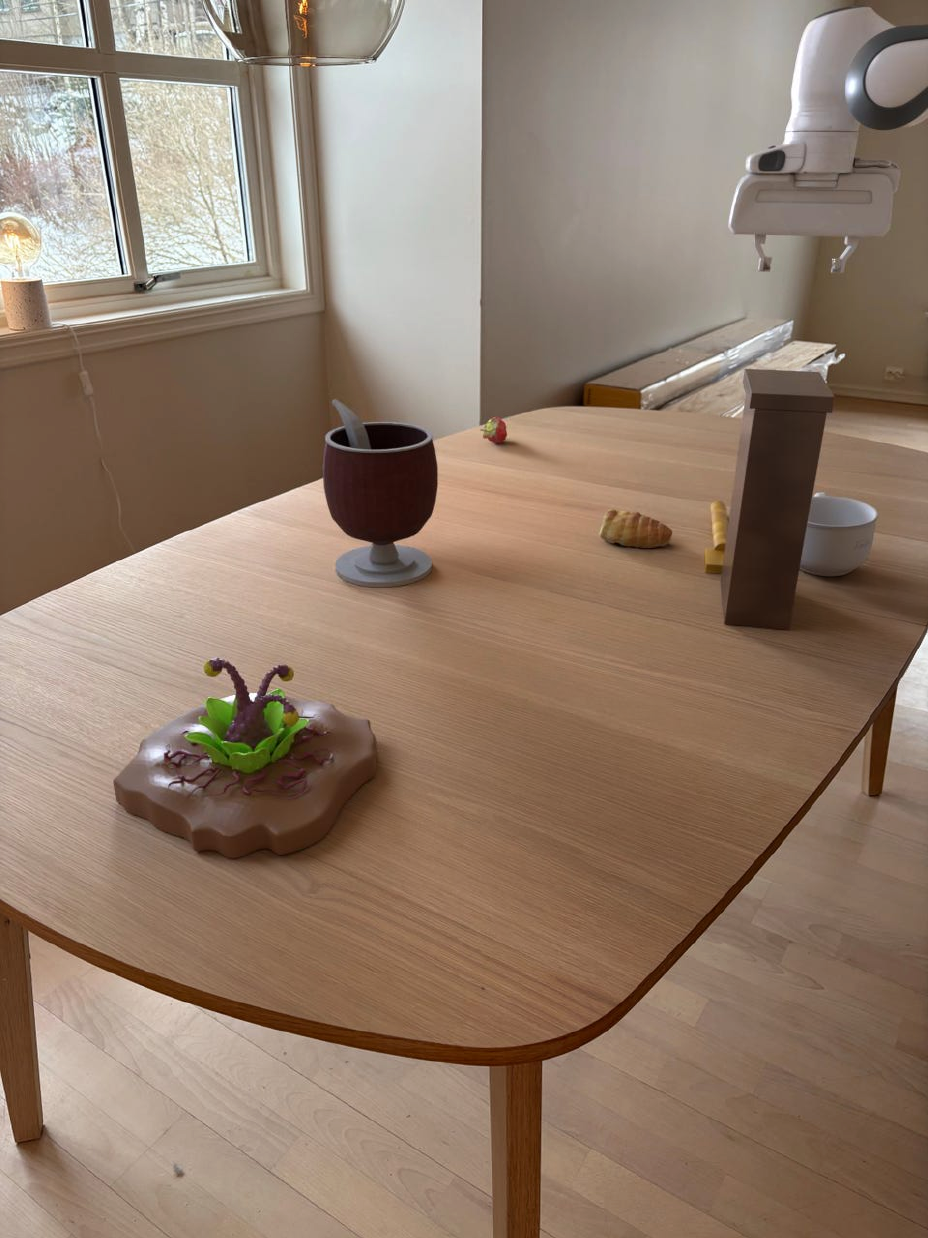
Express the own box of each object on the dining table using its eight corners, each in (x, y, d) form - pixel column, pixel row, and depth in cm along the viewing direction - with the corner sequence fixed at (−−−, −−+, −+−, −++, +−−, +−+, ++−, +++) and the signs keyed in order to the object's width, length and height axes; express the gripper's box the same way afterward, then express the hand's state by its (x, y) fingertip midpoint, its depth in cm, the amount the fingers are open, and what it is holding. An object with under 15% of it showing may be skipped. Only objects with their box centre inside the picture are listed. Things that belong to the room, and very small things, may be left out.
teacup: (866, 590, 115) (879, 528, 112) (773, 577, 119) (783, 516, 115) (865, 549, 127) (877, 492, 124) (781, 538, 130) (790, 482, 127)
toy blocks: (732, 515, 138) (734, 501, 137) (741, 575, 119) (743, 559, 118) (701, 513, 139) (703, 499, 138) (705, 572, 120) (707, 556, 119)
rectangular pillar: (783, 586, 116) (819, 371, 105) (793, 630, 106) (835, 396, 94) (716, 581, 118) (744, 368, 106) (719, 624, 107) (751, 392, 95)
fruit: (516, 440, 173) (517, 413, 171) (495, 447, 169) (496, 420, 167) (498, 436, 176) (498, 409, 173) (477, 443, 172) (477, 416, 169)
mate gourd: (461, 567, 121) (461, 411, 112) (376, 600, 112) (369, 433, 103) (382, 535, 131) (377, 390, 122) (299, 563, 122) (287, 408, 113)
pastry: (674, 536, 131) (677, 510, 129) (665, 554, 125) (668, 527, 124) (607, 527, 134) (609, 501, 132) (595, 544, 128) (597, 518, 127)
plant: (225, 697, 92) (212, 592, 87) (406, 741, 86) (403, 630, 81) (77, 817, 76) (50, 696, 71) (287, 882, 69) (274, 754, 64)
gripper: (898, 157, 122) (877, 271, 129) (735, 156, 126) (722, 267, 132) (909, 158, 117) (886, 276, 123) (737, 157, 121) (724, 272, 127)
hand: (800, 272), depth 128 cm, fingers open, 8 cm apart
